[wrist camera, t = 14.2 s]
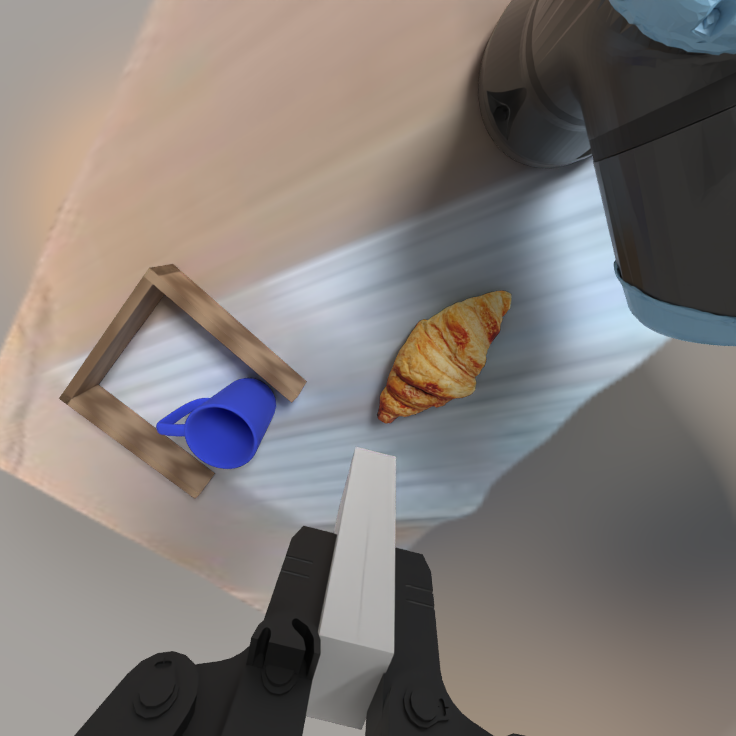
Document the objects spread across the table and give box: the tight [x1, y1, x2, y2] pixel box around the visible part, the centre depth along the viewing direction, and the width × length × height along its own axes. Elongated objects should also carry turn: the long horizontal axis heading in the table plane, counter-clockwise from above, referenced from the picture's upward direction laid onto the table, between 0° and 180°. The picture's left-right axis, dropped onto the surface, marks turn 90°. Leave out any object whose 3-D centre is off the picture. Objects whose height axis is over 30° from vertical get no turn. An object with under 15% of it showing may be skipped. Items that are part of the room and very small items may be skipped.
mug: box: [156, 378, 276, 469], centre depth 45 cm, size 8×12×10 cm
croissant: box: [377, 291, 511, 423], centre depth 43 cm, size 21×10×8 cm, turn 140°
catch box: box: [59, 264, 307, 498], centre depth 47 cm, size 21×22×4 cm
